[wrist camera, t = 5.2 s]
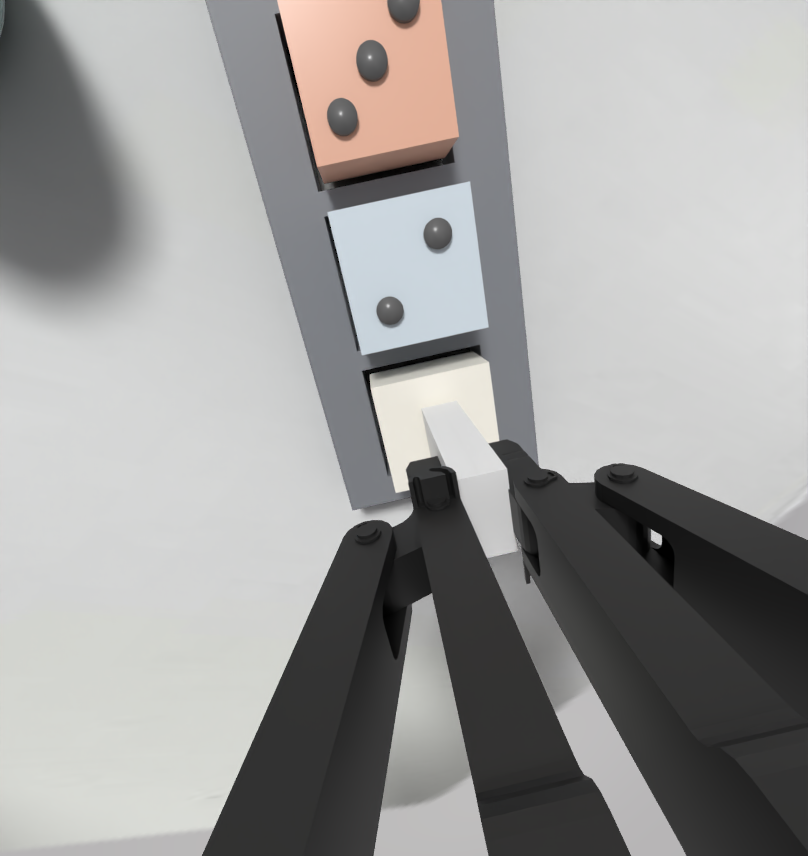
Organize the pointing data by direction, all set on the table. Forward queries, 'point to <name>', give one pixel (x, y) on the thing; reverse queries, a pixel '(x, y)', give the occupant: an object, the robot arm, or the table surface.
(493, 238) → the board
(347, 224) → the tile
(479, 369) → the tile
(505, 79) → the table surface
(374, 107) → the tile
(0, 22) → the cup
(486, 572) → the robot arm
